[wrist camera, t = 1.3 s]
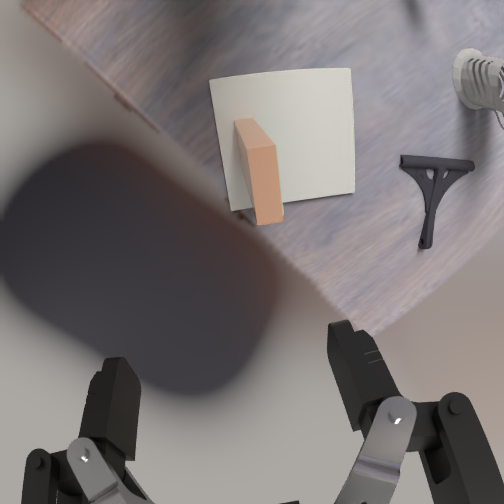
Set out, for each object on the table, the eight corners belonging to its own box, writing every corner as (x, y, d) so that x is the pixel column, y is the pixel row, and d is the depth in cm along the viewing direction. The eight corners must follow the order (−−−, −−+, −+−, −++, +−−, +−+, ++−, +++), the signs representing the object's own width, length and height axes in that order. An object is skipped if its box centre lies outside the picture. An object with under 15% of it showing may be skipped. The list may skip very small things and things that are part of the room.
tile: (234, 120, 32) (246, 149, 21) (253, 117, 32) (277, 144, 21) (241, 170, 36) (257, 225, 24) (259, 167, 36) (285, 221, 24)
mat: (208, 79, 30) (208, 80, 30) (348, 68, 30) (350, 68, 30) (230, 209, 39) (231, 211, 38) (352, 190, 39) (354, 192, 39)
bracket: (382, 246, 46) (390, 256, 43) (398, 153, 38) (408, 159, 35) (449, 240, 47) (458, 248, 44) (468, 159, 39) (479, 165, 36)
